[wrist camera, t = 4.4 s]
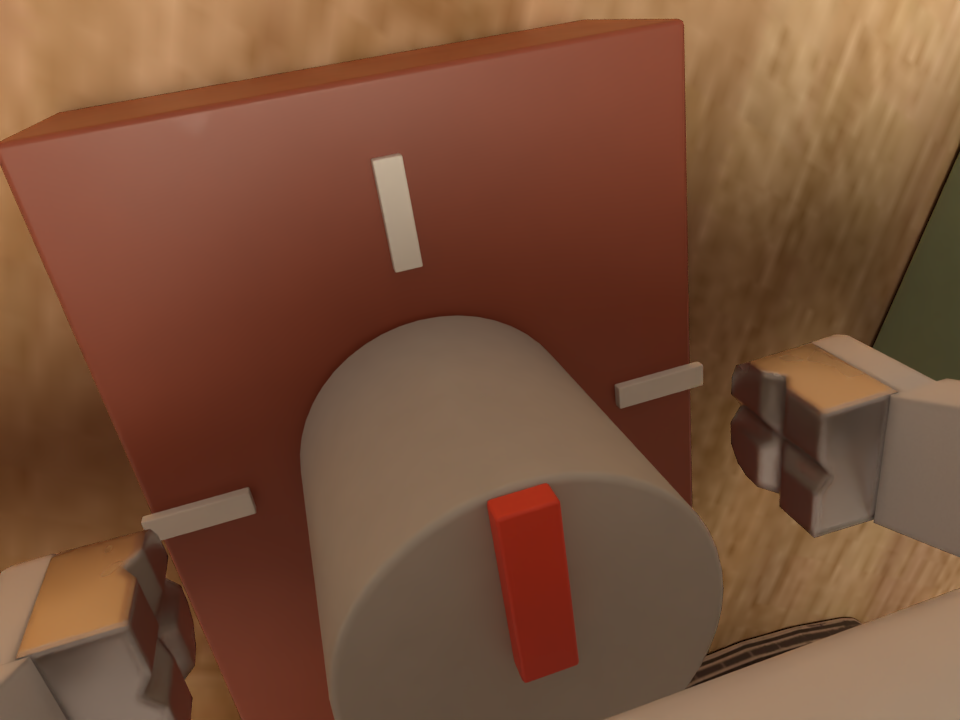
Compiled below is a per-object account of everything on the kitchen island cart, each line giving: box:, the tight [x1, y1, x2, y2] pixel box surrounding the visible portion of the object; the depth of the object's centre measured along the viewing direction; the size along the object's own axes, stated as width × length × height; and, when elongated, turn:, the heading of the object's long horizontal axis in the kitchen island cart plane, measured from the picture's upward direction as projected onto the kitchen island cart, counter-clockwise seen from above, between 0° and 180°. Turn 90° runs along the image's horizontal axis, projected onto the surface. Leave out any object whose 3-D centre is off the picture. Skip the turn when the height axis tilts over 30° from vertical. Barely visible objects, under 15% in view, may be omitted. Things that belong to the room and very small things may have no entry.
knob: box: [300, 315, 723, 720], centre depth 9 cm, size 4×4×4 cm
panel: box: [0, 19, 703, 720], centre depth 12 cm, size 10×8×3 cm
